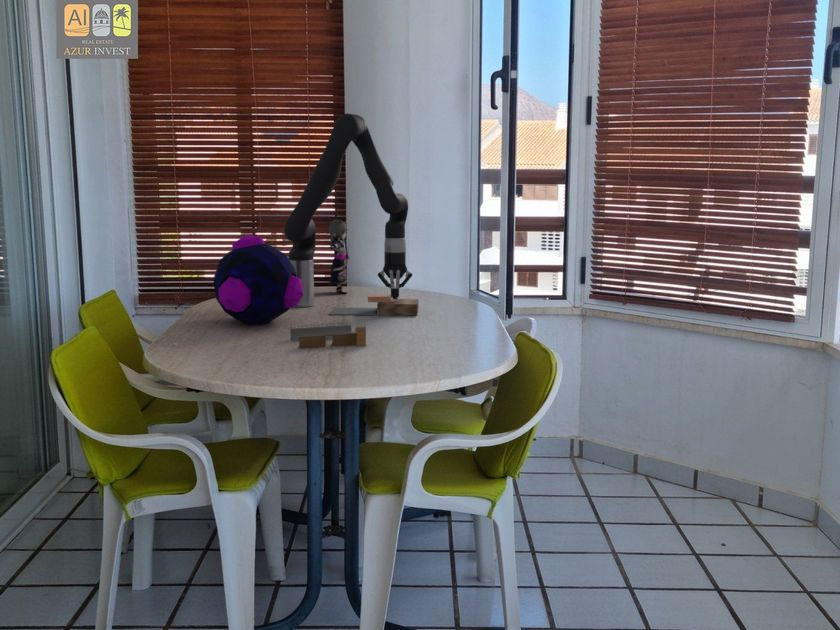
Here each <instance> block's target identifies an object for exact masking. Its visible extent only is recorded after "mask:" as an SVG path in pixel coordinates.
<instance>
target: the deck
mask: <svg viewBox="0 0 840 630" xmlns="http://www.w3.org/2000/svg"><path fill="white" fill-rule="evenodd" d="M419 302H420V301H419V298H397V299H393V298H392V300H391V302H390V303H382V302H376V303H377V304H376V305H377V306H376V308H377V311H376V313H377V316H405V315H417V316H418V314H417V313H419V310H418V309H420V308H419Z"/></svg>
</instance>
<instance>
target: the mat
mask: <svg viewBox="0 0 840 630" xmlns="http://www.w3.org/2000/svg"><path fill="white" fill-rule="evenodd" d="M376 313H377V307H333V308H332V310H331V311H330V312H329V313H328V316H369V317H371V316H372V317H373V316H374V317H375V315H376Z"/></svg>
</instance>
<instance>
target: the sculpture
mask: <svg viewBox="0 0 840 630" xmlns="http://www.w3.org/2000/svg"><path fill="white" fill-rule="evenodd" d="M231 248H232V249H231V250H230V251H228V252H227V253H226V254H225V255H224V256H223V257H222V258H220V260H219V262H218V264H217V267H216V270H215V273H214V276H213V287H214V288H213V289H214V294H215V299H216V300H217V302H218V304H219V305H220V307H221V309H222V310H223V311H224V312H225V313H226V314H228V315H229V316H231V317H232V318H233V319H235V320H237V321H239V322H241V323H242V324H248V325H249V324H251V325H265V324H268V323H271V322H273V321H274V320H276V319H277V318H279V317H281V316H282V315H284V314H285V313H287V312H288V311H289V310H290V309H291V308H292V309H293V308H297V307H296V306H297V304H298V303H299V301H300V300H301V298H302V297H303V295H304V294H303V288H302V281H301V279H299V278H297V277H296V271H295V268H294V266H293V265H292V263H291V261H290V260H289V258H288V255H286V254H285V253H284V252H282V251H281V250H279V249H278V248H276V247H274V246H273V245H270V244H269V243H266V242H265V241H264V238H263V237H260V236H255V235H250V234H244V235H243V236H241V237H240V238H239V239H237V240H235V241H234V242H233V243H232V245H231Z"/></svg>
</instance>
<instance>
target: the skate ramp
mask: <svg viewBox="0 0 840 630" xmlns="http://www.w3.org/2000/svg"><path fill="white" fill-rule="evenodd" d="M344 324H345V325H344ZM366 326H367V324H366V323H360V325H359V324H358V323H356V327H355V329H354V331H353V330H352V322H351V321H350V322H348V321H346V322H341V325H338V323H335V322H333V325H332V323H325V326H324V323H321V324H317V326H316V324H311V326H309V327H306V325H301V327H299V324H298V325H294V327H293V325H290V341H292V342H298V348H300V350H301V349H317V348H326V347H327V340H332V342H331V345H332V346H333V347H342V346H343V347H346V346H356V347H357V348H358V347H367V345H366V344H367V337H366V336H367V335H366V334H367V333H366V331H367V330H366V329H367V328H366Z"/></svg>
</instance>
